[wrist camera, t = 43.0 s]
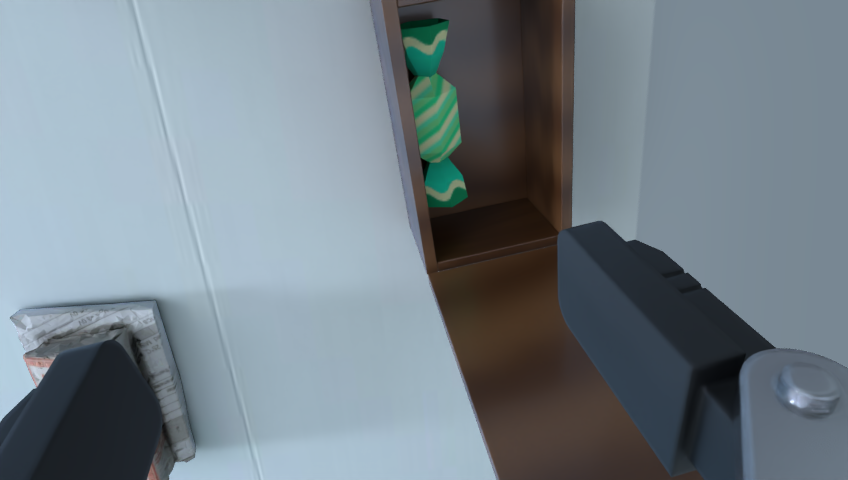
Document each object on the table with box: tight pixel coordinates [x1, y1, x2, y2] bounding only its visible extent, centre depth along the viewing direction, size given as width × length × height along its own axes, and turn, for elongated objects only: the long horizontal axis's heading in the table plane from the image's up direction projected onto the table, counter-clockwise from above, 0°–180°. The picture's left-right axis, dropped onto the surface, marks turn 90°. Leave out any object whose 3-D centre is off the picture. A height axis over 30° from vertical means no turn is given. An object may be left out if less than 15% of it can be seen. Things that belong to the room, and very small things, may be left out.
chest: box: [370, 0, 575, 274], centre depth 33 cm, size 18×11×7 cm, turn 8°
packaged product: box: [10, 300, 196, 480], centre depth 40 cm, size 18×5×10 cm
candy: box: [400, 18, 468, 207], centre depth 33 cm, size 12×3×4 cm
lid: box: [428, 245, 704, 480], centre depth 27 cm, size 18×11×5 cm
